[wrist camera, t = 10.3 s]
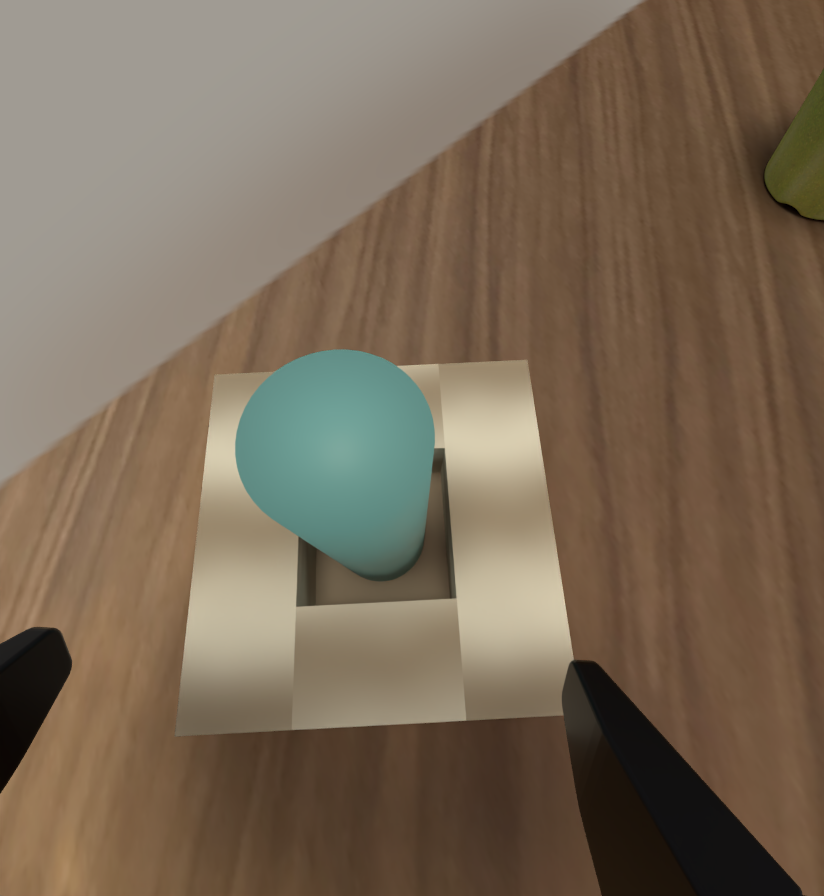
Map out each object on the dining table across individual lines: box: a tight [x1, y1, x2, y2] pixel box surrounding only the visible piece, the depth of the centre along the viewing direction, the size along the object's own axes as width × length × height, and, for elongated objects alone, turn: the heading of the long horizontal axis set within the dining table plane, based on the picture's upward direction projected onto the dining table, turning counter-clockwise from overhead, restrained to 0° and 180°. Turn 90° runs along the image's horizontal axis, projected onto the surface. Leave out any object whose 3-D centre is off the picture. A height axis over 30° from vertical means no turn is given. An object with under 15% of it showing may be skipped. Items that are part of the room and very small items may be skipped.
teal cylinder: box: [235, 350, 435, 581], centre depth 15 cm, size 4×4×13 cm
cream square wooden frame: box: [175, 360, 574, 736], centre depth 20 cm, size 14×14×4 cm
